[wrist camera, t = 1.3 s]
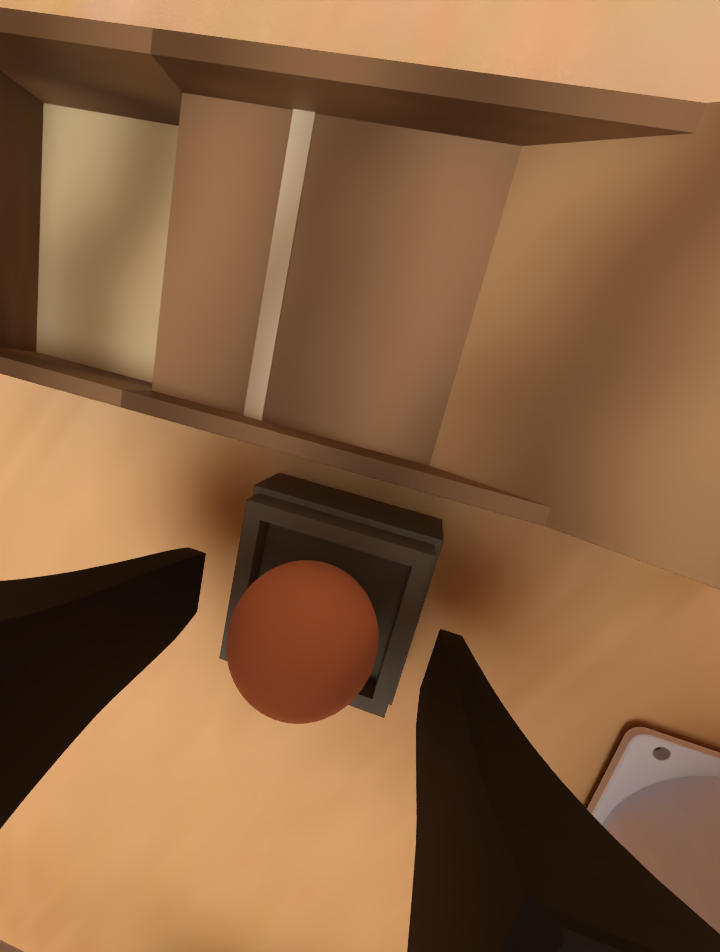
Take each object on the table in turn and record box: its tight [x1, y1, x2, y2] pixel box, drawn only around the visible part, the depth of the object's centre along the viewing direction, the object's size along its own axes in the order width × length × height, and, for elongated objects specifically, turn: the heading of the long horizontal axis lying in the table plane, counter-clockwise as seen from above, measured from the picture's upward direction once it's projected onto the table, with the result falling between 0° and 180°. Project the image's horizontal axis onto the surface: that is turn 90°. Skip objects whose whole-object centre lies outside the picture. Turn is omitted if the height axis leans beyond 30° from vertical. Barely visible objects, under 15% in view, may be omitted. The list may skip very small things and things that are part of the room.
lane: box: [0, 7, 720, 590], centre depth 10 cm, size 23×9×4 cm, turn 76°
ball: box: [226, 560, 379, 724], centre depth 10 cm, size 4×4×4 cm
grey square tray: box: [220, 473, 443, 718], centre depth 13 cm, size 6×6×3 cm
